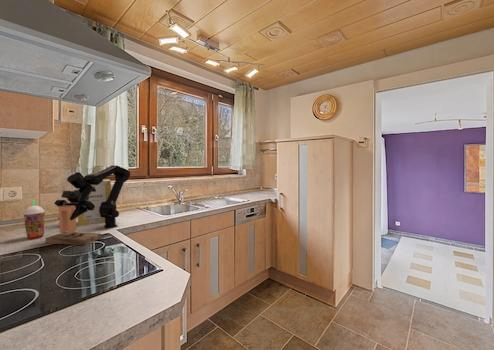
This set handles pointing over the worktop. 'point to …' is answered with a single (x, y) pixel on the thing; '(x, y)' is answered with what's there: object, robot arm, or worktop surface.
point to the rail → (74, 238)
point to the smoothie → (34, 221)
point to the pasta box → (96, 204)
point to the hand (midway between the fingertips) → (64, 219)
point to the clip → (66, 219)
